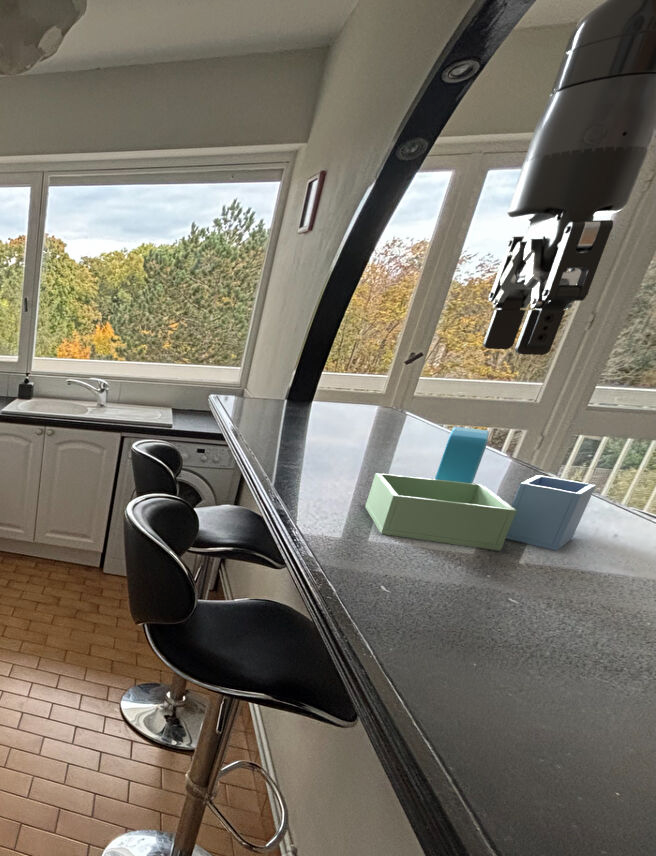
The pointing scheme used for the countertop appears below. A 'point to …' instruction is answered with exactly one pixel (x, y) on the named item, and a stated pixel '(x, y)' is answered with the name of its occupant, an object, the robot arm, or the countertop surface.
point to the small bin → (548, 511)
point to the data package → (462, 455)
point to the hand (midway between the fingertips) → (512, 351)
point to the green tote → (439, 511)
